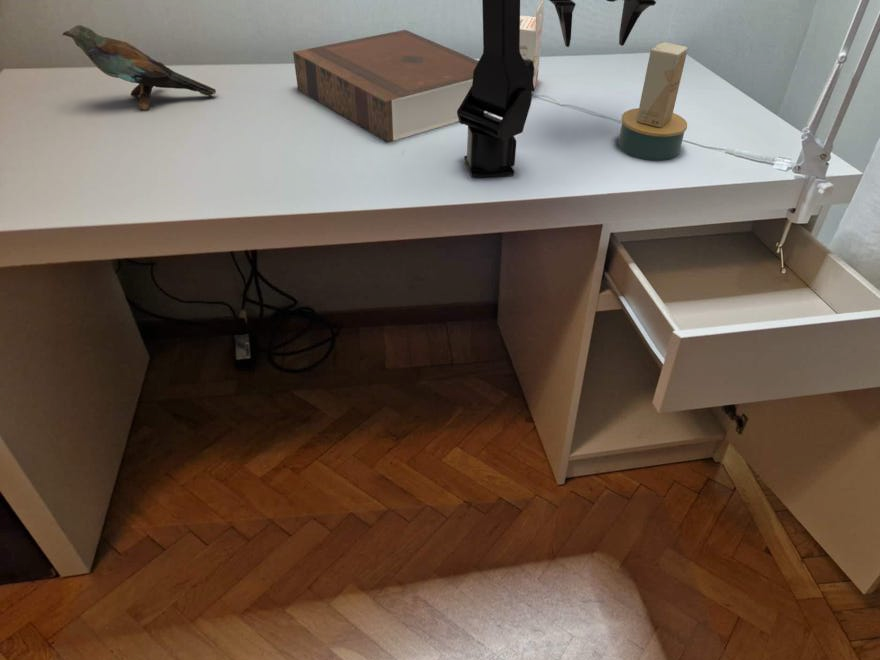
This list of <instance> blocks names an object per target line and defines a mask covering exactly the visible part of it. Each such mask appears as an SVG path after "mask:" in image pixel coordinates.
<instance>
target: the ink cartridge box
mask: <svg viewBox="0 0 880 660" xmlns="http://www.w3.org/2000/svg"><path fill="white" fill-rule="evenodd" d="M544 6H545V1H544V0H542V1H541V3H540V4H539V6H538V7H537V9H536V11H535V16H529V15H520V54H521V56H522V58H523V59H525V60H528V61H531V62H533V65H534V77H533V85H534V89H535V88H536V86H537V83H538V77H539V68H540V59H541V58H540V57H541V48H542V37H543V28H544V18H545V17H544V16H545V15H544V12H545V11H544V8H545V7H544ZM533 93H534V92H533V91H532V95H533Z"/></svg>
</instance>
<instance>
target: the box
mask: <svg viewBox="0 0 880 660" xmlns="http://www.w3.org/2000/svg"><path fill="white" fill-rule="evenodd" d="M688 50H689V47H687V46H684V45H680V44H676V43H675V44H674V43H670V42H665V41H663V42H660V43H658V44H657V45H655V46H654V47H652V48H651V49H650V52H649V58H648V62H647V67H646V72H645V76H644V81H643V87H642V93H641V97H640V101H639V107H638V108H639V111H638V116H637V122H640V123H644V124H648V125H652V126H656V127H660V128H661V127H663V126H664V125H665V124H666V123H667V122H669V121H670V120H671V118H672V114H673V113H674V110H675V106H676V101H677V97H678V93H679V88H680V84H681V81H682V75H683V71H684V67H685V63H686V59H687V54H688Z"/></svg>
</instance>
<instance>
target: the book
mask: <svg viewBox="0 0 880 660" xmlns="http://www.w3.org/2000/svg"><path fill="white" fill-rule="evenodd" d="M292 53H293V55H292V56H293V64H294V70H295V71H294V72H295V78H296V86H297V90H298V91H300V92H301V93H303V94H305V95H306V96H308V97H310V98H311V99H313V100H315V101H316V102H318V103H320V104H321V105H324V106H325V107H327V108H329V109H330V110H331V111H334V112H335V113H337V114H339V116H342V117H344V118H345V119H347V120H349V121H351V122H352V123H354V124H356V125H357V126H359V127H361V128H362V129H364V130H365V131H367V132H369V133H371V134H373V135H374V136H375V137H378V139H381V140H382V141H385V142H386V143H391V142H394V141H398V140H401V139H404V138H408V137H411V136H414V135H418V134H421V133H424V132H427V131H431V130H434V129H437V128H438V129H439V128H441V127H445V126H449V125H451V124H455V123H459V119H458V115H457V110H458V109H459V107H460V105H461V104H462V102H463V100H464V98H465V97H466V95H467V93H468V92H469V90H470V88H471V86H472V82H473V71H474V68H475V67H476V65H477V63H478V61H479V60H477V59H476V58H473V57H470V56H468V55H465V54H463V53H461V52H458V51H456V50H454V49H452V48H449V47H447V46H444V45H442V44H440V43H437V42H435V41H433V40H430V39H428V38H426V37H423V36H421V35H419V34H416V33H415V32H412V31H410V30H408V29H402V30H396V31H391V32H386V33H382V34H377V35H371V36H366V37H360V38H355V39H351V40H346V41H340V42H336V43H331V44H330V43H329V44H325V45H321V46H316V47H310V48H305V49H300V50H295V51H292ZM484 113H486V114H488V113H489V112H487V111H484ZM489 114H490V113H489Z"/></svg>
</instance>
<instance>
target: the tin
mask: <svg viewBox="0 0 880 660" xmlns="http://www.w3.org/2000/svg"><path fill="white" fill-rule="evenodd" d="M638 111H639V107H637V108H632V109H628V110H626V111H624V112H623V113H622V115H621V120H620V121H621V126H620V132H619V136H618V142H617V145H618V148H619V149H620V150H621V151H622V152H624V153H625V154H627V155H628V156H631V157H634V158H637V159H641V160H647V161H667V160H671V159H675V158H676V157H677V156H678V155H679V154H680V152H681V149H682V144H683V139H684V135H685V132H686V131H687V129H688V122H687V120H686V119H685V118H683V117H682V116H681V115H679V114H677V113H674V112H673V114H672V118H671V120H670V121H669V122H667V123H666V124H665V125H664V126H663V127H661V128H660V127H656V126H652V125H648V124H644V123H640V122H637V116H638Z"/></svg>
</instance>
